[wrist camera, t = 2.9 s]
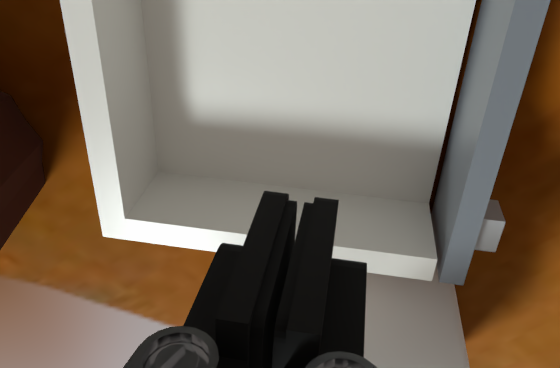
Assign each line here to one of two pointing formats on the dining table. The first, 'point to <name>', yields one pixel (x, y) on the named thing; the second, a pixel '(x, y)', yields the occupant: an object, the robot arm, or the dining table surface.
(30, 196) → the muffin
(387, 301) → the medicine bottle
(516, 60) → the side door
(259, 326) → the robot arm
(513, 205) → the dining table surface
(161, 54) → the case
